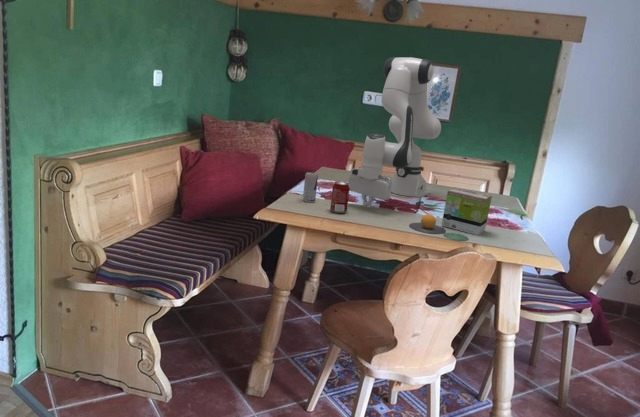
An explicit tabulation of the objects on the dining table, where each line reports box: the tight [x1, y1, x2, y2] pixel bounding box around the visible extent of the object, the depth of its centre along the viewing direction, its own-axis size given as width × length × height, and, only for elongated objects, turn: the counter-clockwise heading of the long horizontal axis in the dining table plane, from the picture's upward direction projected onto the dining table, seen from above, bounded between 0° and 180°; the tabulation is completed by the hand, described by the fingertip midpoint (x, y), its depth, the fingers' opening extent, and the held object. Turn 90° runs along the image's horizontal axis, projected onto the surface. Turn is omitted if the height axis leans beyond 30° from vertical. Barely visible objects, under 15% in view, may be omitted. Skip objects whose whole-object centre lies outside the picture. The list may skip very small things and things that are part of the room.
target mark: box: [408, 222, 447, 235], centre depth 199 cm, size 14×14×1 cm
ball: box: [420, 213, 437, 229], centre depth 199 cm, size 6×6×6 cm
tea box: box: [441, 187, 493, 236], centre depth 203 cm, size 15×10×15 cm, turn 58°
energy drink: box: [302, 172, 319, 203], centre depth 221 cm, size 5×5×12 cm
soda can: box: [329, 180, 350, 214], centre depth 208 cm, size 7×7×12 cm
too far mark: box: [443, 232, 469, 242], centre depth 192 cm, size 9×9×1 cm
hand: (366, 205), depth 218 cm, fingers closed
